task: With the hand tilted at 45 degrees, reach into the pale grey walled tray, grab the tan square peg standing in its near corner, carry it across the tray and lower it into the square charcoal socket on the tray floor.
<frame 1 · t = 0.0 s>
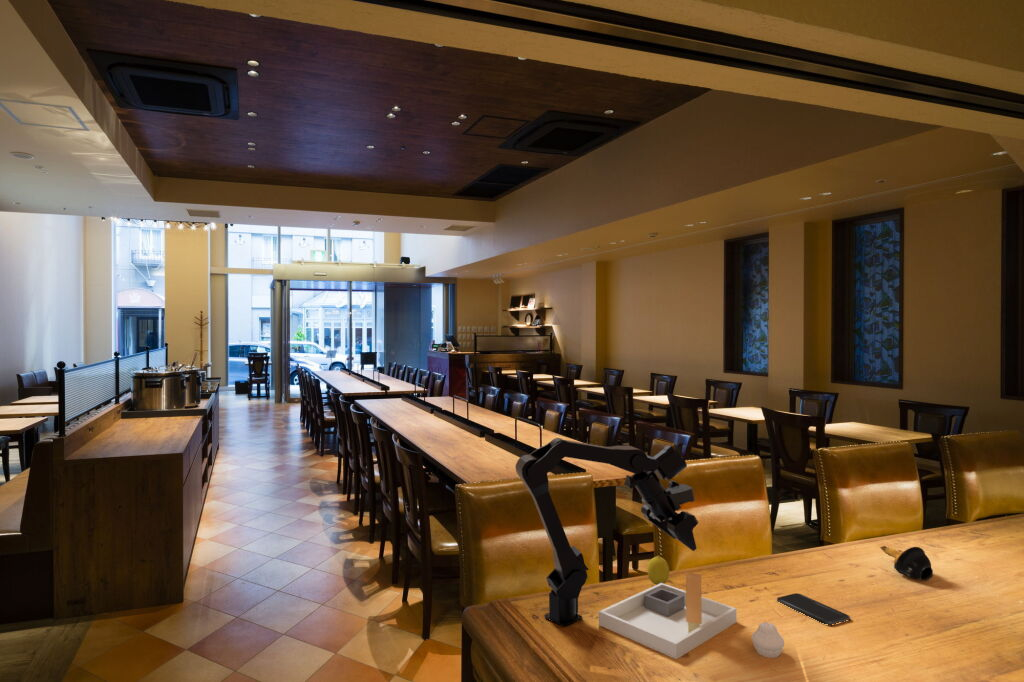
hand: (685, 543, 147), 15 cm above the table, tool tilted 35°, fingers open, 9 cm apart
walled tray: (667, 627, 135), on the table
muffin: (767, 658, 122), on the table
tan square peg: (694, 631, 131), point 1 cm above the table, touching walled tray
phone: (812, 612, 144), on the table
toilet plunger: (904, 572, 168), on the table
lemon: (658, 587, 158), on the table
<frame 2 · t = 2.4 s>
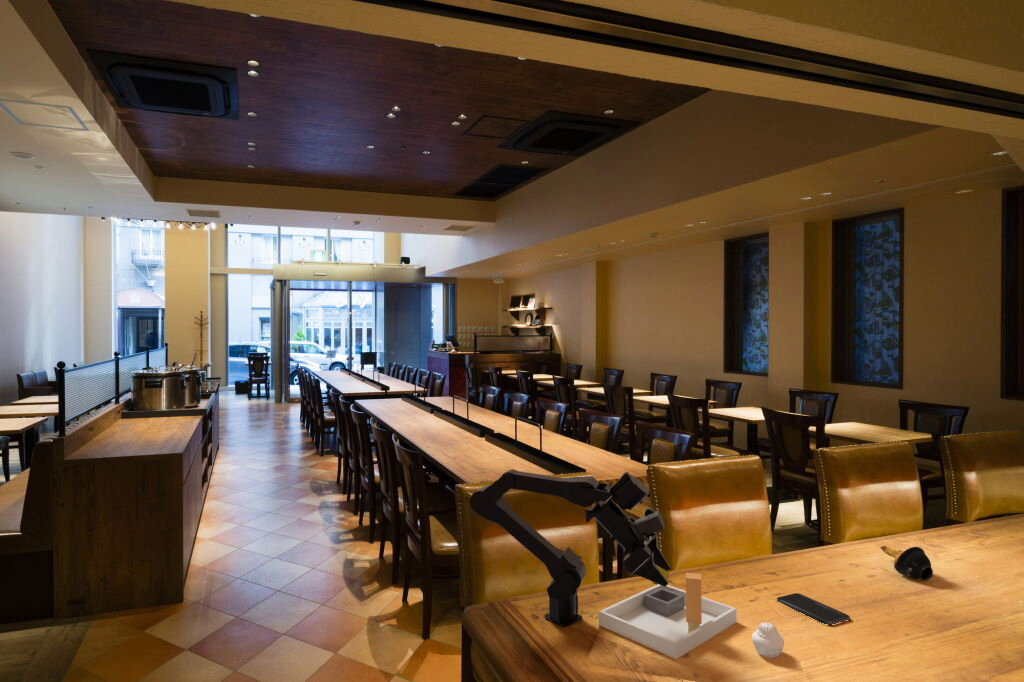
hand: (667, 577, 133), 12 cm above the table, tool tilted 45°, fingers open, 9 cm apart
nothing on the table moved.
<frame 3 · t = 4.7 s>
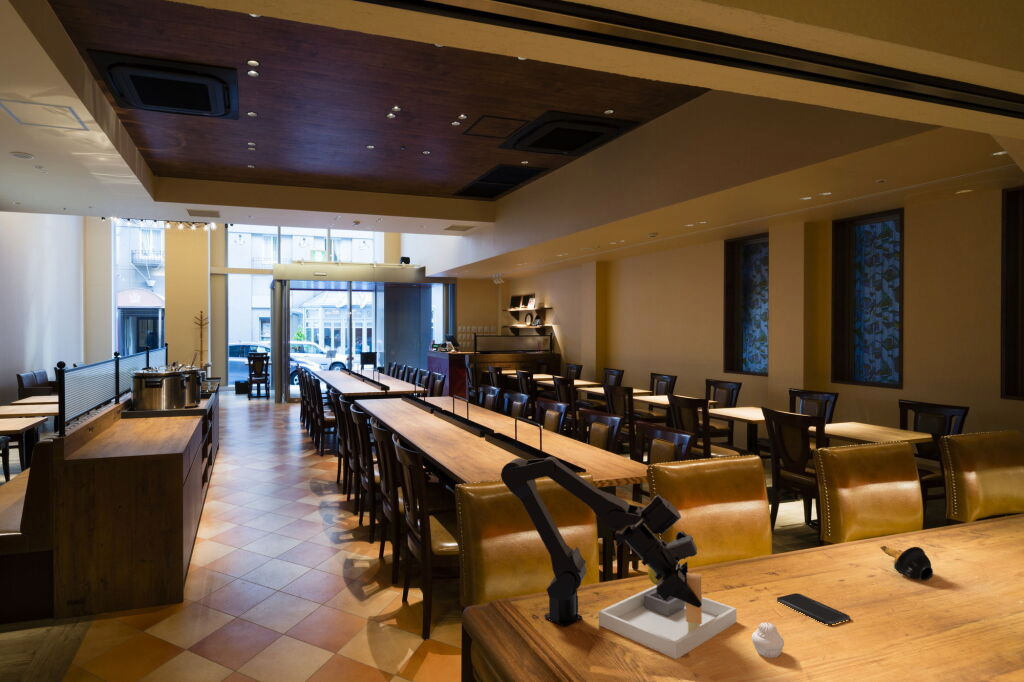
hand: (700, 602, 131), 7 cm above the table, tool tilted 45°, fingers closed on tan square peg, 3 cm apart
tan square peg: (694, 631, 131), point 1 cm above the table, touching gripper, walled tray
everything else where it was.
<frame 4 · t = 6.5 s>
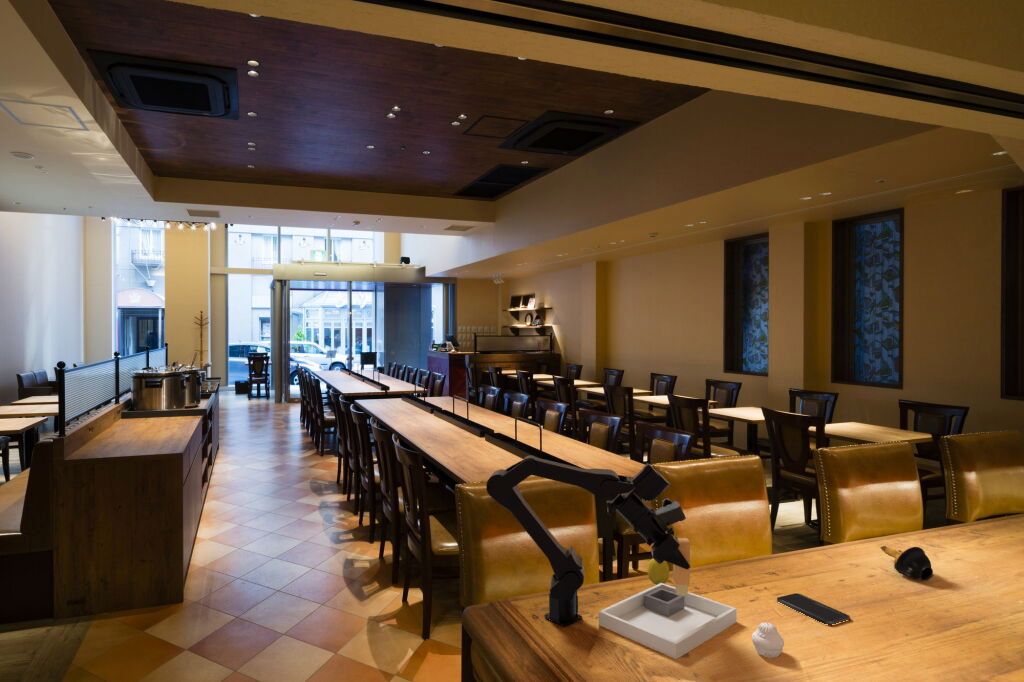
hand: (687, 565, 137), 13 cm above the table, tool tilted 45°, fingers closed on tan square peg, 3 cm apart
tan square peg: (681, 593, 137), point 7 cm above the table, touching gripper
everything else where it was.
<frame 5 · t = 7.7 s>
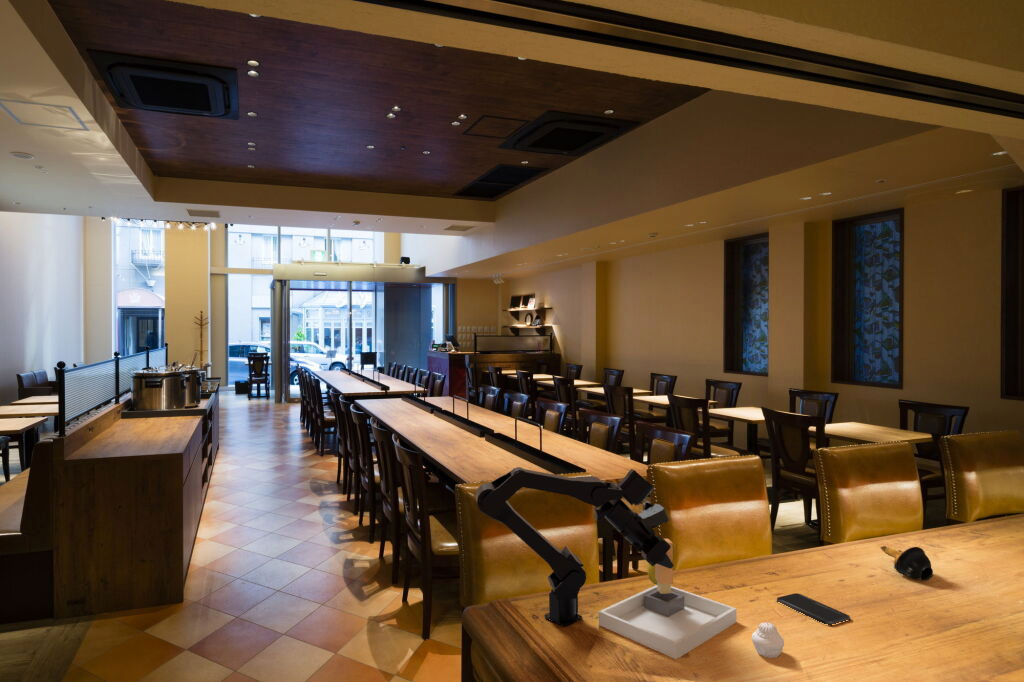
hand: (669, 564, 143), 11 cm above the table, tool tilted 45°, fingers closed on tan square peg, 3 cm apart
tan square peg: (664, 591, 143), point 5 cm above the table, touching gripper
everything else where it was.
when the fingers open (8 cm above the table, at t = 8.7 s): tan square peg stays where it is, resting on walled tray.
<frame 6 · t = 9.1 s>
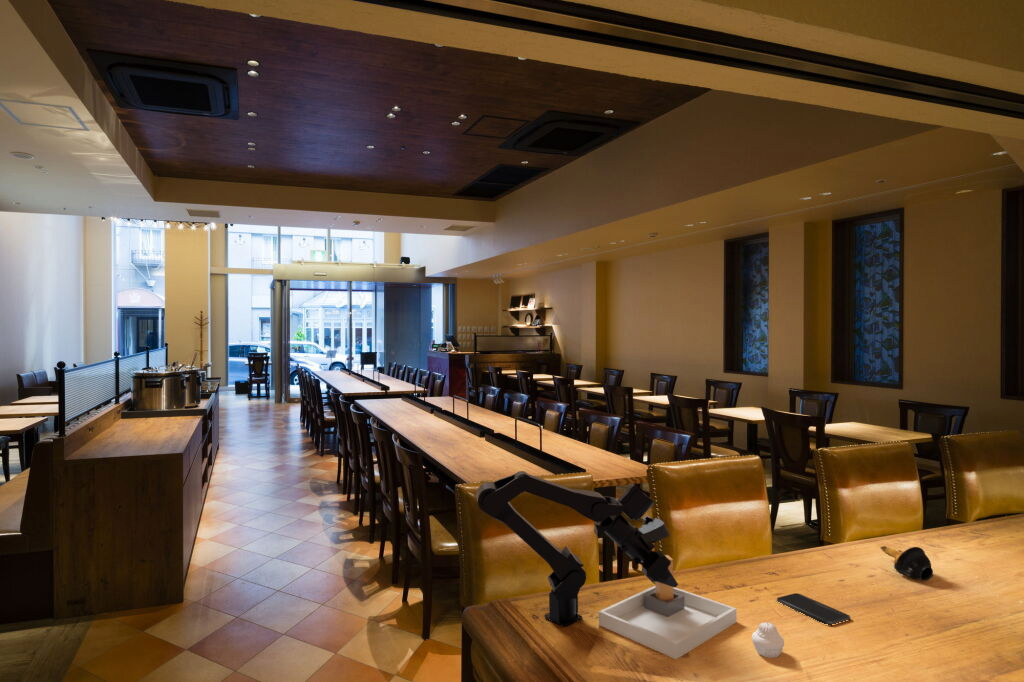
hand: (669, 579, 143), 8 cm above the table, tool tilted 45°, fingers open, 8 cm apart
tan square peg: (664, 608, 143), point 1 cm above the table, touching walled tray
everything else where it was.
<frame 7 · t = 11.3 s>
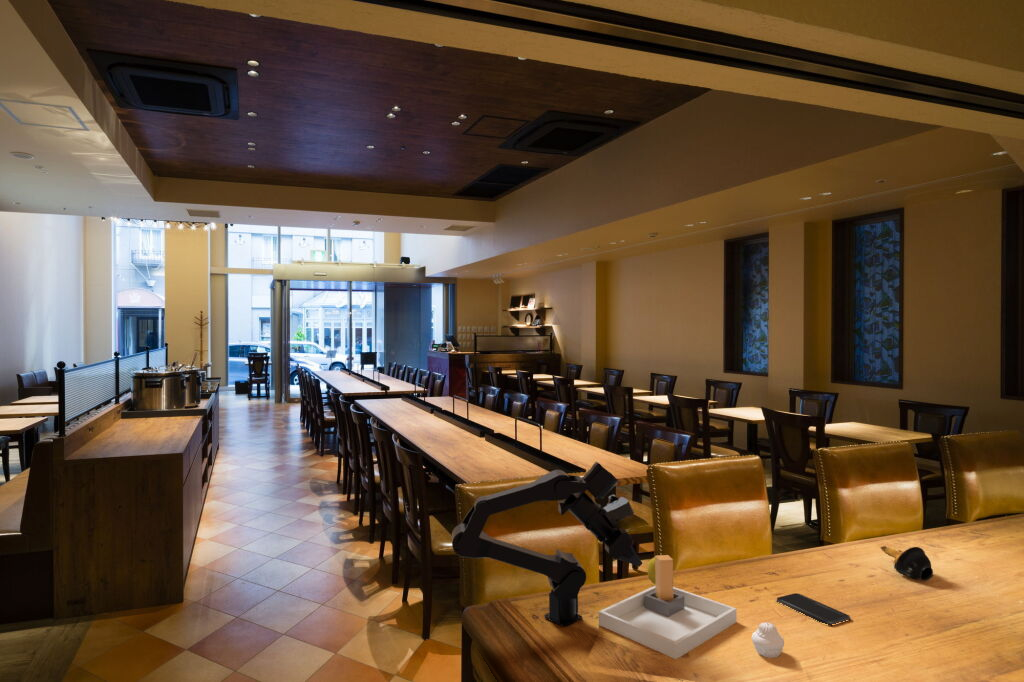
hand: (634, 557, 142), 13 cm above the table, tool tilted 45°, fingers open, 9 cm apart
nothing on the table moved.
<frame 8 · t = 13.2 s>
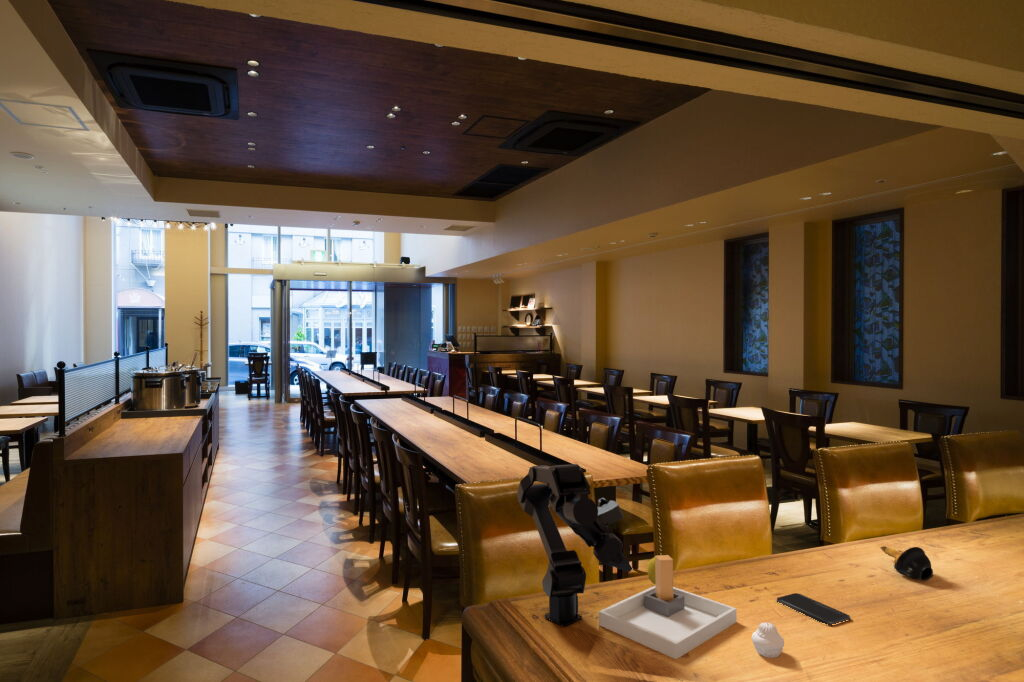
hand: (624, 562, 138), 14 cm above the table, tool tilted 45°, fingers open, 9 cm apart
nothing on the table moved.
at the end: tan square peg 0.0 cm from the target spot, point 1.0 cm above the table; tan square peg tilted 0°; the gripper is holding nothing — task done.
